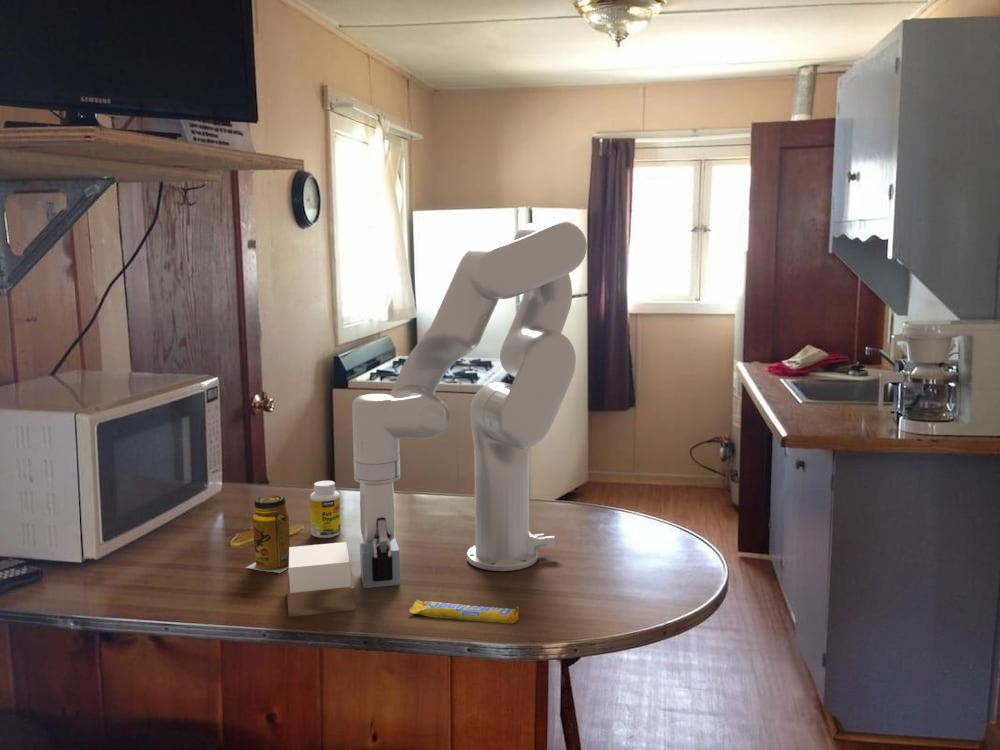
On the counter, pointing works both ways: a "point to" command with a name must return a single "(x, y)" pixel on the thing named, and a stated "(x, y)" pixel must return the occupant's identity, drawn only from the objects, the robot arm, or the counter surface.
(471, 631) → the counter surface
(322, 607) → the tower base block
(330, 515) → the supplement bottle
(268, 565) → the condiment
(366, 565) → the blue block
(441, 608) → the candy bar
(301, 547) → the tower top block
